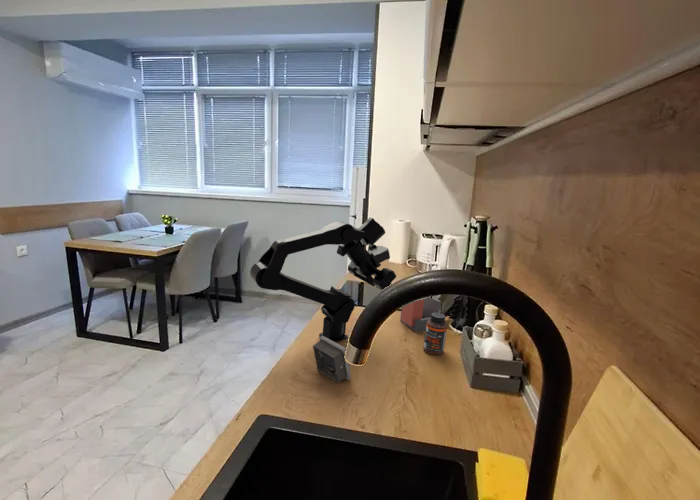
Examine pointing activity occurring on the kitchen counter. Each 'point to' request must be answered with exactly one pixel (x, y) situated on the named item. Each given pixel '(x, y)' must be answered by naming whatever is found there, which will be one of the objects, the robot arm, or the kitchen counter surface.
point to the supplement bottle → (435, 334)
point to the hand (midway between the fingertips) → (382, 289)
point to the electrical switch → (331, 359)
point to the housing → (425, 314)
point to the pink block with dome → (412, 312)
